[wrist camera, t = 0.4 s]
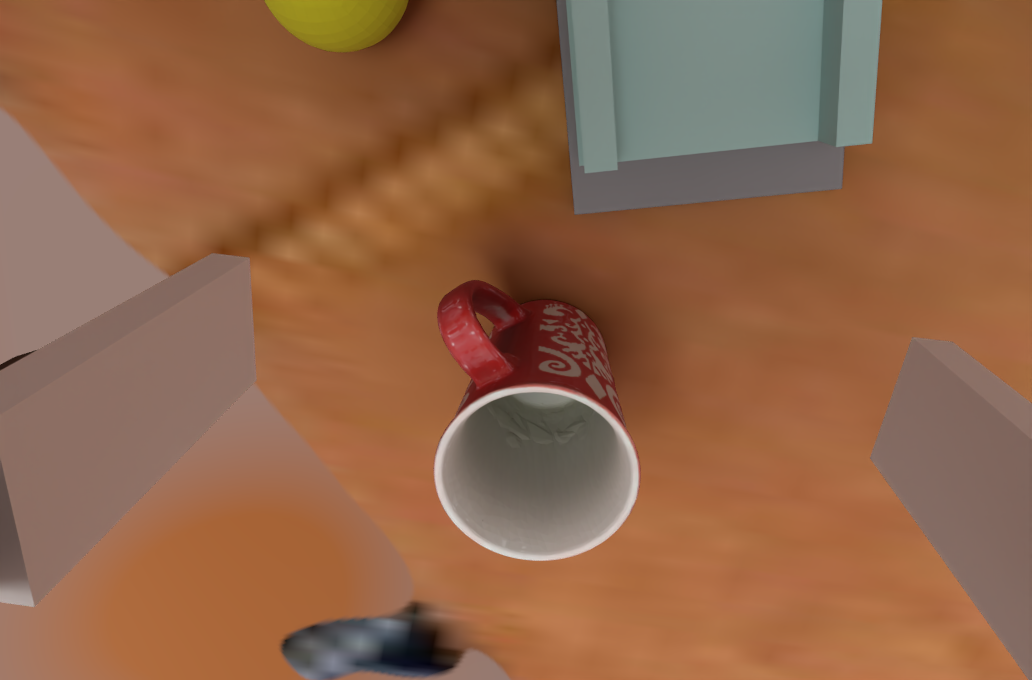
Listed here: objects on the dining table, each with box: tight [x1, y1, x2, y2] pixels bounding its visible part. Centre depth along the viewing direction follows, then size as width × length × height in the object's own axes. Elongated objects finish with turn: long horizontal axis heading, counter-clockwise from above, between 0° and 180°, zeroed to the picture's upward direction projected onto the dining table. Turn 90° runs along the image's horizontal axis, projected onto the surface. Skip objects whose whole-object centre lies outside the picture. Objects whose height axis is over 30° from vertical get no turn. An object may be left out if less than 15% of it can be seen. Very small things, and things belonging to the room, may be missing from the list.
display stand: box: [556, 0, 882, 215], centre depth 32 cm, size 14×14×6 cm
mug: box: [434, 280, 641, 561], centre depth 36 cm, size 13×9×14 cm
